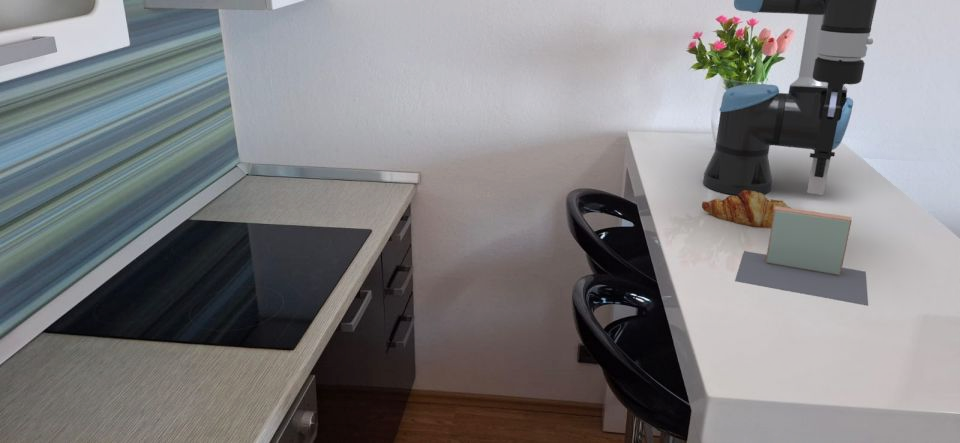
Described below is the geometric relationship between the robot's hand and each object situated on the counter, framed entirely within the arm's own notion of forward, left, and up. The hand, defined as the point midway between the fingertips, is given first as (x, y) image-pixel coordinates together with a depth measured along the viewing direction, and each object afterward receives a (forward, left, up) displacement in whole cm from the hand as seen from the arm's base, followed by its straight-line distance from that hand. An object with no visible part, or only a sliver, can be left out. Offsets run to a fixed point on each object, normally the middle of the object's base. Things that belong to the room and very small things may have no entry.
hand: (815, 192), depth 132 cm
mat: (+12, 0, -12) cm, 17 cm away
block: (+8, 0, -11) cm, 14 cm away
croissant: (-13, -10, -13) cm, 21 cm away
